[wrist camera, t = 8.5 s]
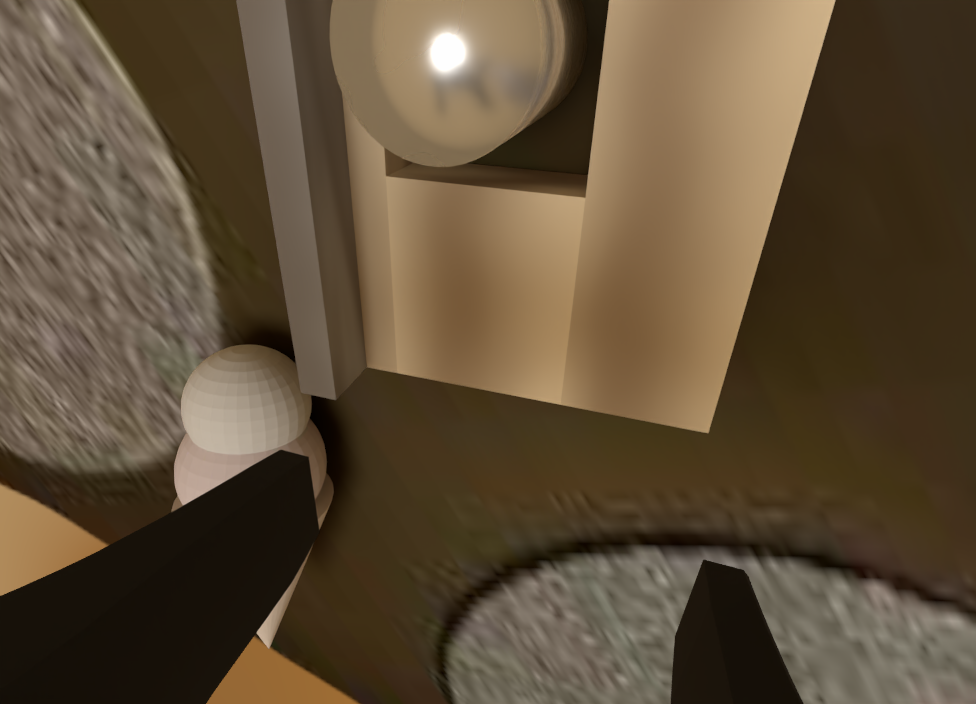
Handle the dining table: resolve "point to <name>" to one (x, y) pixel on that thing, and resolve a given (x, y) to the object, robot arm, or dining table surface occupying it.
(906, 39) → the dining table surface
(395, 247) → the jig
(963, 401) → the dining table surface
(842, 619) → the dining table surface
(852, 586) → the dining table surface
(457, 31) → the beige cylinder
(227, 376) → the ice cream cone
